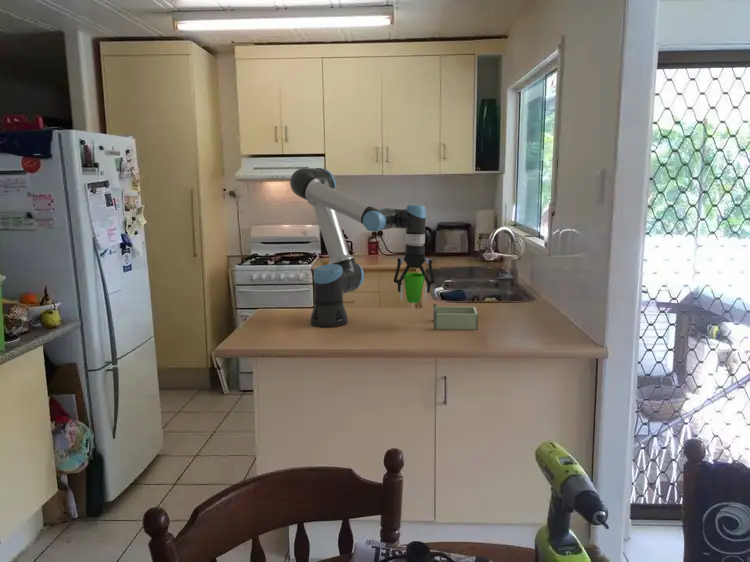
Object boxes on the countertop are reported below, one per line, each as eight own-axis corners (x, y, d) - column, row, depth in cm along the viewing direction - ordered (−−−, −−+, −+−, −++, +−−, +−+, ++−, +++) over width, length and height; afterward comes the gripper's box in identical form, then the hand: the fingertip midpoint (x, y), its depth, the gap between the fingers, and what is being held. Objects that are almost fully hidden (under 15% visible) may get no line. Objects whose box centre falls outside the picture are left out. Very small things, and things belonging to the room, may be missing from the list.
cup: (423, 304, 230) (424, 277, 228) (400, 303, 232) (401, 276, 230) (426, 299, 239) (427, 273, 237) (404, 298, 241) (404, 272, 239)
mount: (433, 329, 230) (434, 311, 228) (433, 320, 243) (433, 303, 242) (477, 329, 228) (478, 311, 227) (474, 320, 242) (475, 303, 240)
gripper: (387, 244, 228) (385, 301, 233) (443, 246, 227) (441, 303, 231) (388, 242, 236) (387, 297, 240) (442, 243, 234) (440, 299, 238)
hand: (413, 300), depth 235 cm, fingers closed on cup, 9 cm apart
